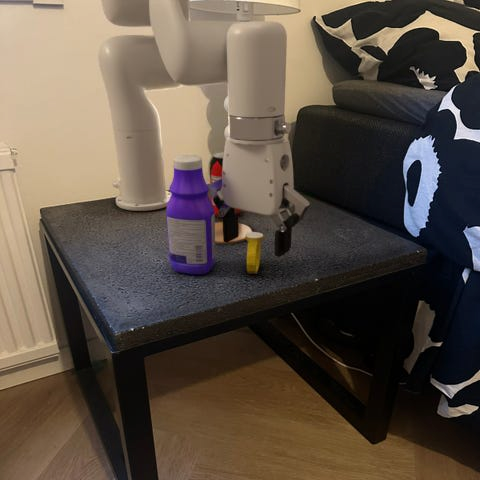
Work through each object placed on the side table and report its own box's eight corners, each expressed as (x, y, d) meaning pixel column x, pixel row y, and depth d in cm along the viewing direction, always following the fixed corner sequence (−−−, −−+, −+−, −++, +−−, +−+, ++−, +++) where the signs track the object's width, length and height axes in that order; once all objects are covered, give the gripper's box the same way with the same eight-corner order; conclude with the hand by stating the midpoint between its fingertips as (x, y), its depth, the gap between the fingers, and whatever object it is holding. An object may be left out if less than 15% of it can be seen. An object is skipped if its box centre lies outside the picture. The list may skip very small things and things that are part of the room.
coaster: (187, 235, 88) (187, 233, 88) (221, 220, 95) (221, 218, 95) (229, 248, 83) (229, 246, 83) (262, 231, 90) (262, 229, 90)
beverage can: (248, 213, 98) (248, 153, 92) (227, 221, 94) (226, 159, 88) (225, 206, 102) (224, 148, 95) (205, 214, 98) (202, 154, 91)
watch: (259, 279, 73) (260, 243, 70) (242, 277, 73) (242, 242, 70) (264, 262, 78) (265, 228, 75) (247, 261, 78) (248, 227, 75)
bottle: (219, 263, 78) (216, 154, 69) (210, 278, 73) (205, 163, 64) (177, 259, 79) (169, 151, 70) (165, 274, 75) (155, 160, 65)
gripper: (326, 130, 62) (316, 251, 71) (224, 119, 71) (227, 228, 80) (296, 139, 57) (290, 268, 66) (190, 126, 66) (197, 241, 75)
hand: (255, 246), depth 73 cm, fingers open, 9 cm apart
